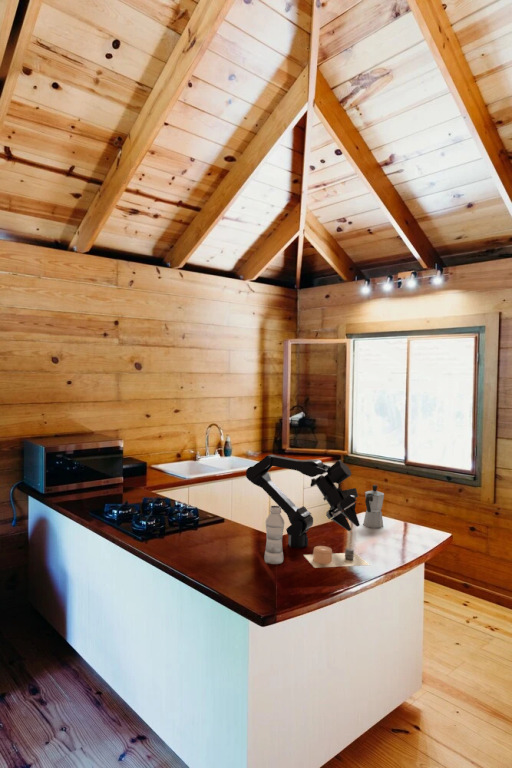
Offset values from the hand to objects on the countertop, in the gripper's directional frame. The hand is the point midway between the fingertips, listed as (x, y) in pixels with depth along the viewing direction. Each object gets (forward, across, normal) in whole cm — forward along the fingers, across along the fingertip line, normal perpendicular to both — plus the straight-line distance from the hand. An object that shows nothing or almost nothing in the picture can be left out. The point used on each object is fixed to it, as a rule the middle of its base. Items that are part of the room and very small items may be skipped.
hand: (354, 528), depth 178 cm
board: (+6, +4, +12) cm, 14 cm away
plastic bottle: (-5, +4, +31) cm, 31 cm away
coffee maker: (+5, +43, -24) cm, 50 cm away
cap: (+3, +3, +16) cm, 16 cm away
